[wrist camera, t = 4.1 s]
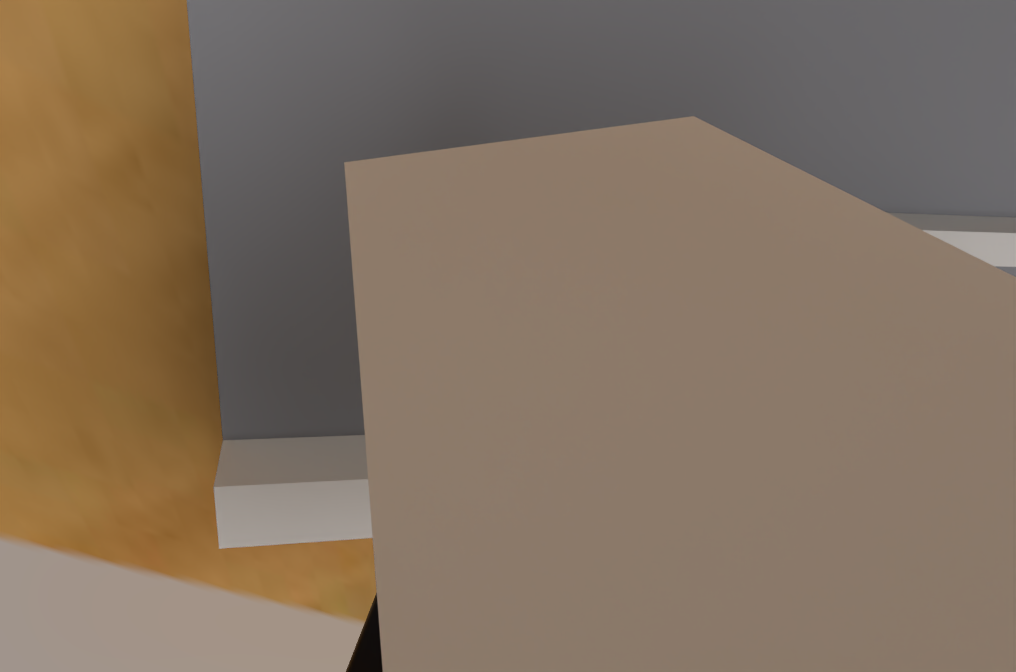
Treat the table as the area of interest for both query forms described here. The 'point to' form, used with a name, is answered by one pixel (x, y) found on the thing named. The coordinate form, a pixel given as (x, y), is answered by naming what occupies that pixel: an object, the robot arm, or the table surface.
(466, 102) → the shelf board
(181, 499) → the table surface
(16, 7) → the table surface
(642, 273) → the carton
